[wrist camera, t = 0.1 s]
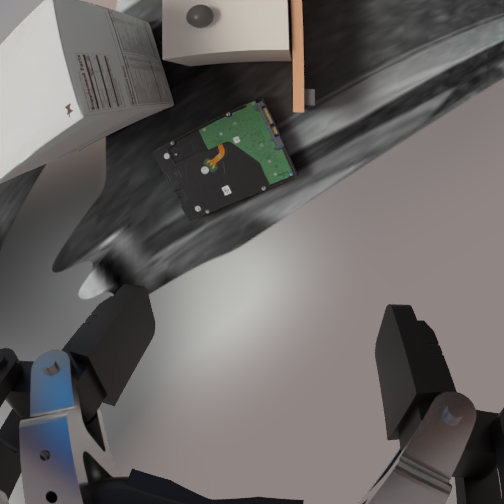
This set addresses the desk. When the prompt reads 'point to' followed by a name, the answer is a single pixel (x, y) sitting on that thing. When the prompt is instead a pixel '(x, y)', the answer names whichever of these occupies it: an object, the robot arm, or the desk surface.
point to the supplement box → (74, 82)
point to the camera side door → (299, 61)
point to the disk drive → (226, 160)
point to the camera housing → (226, 31)
